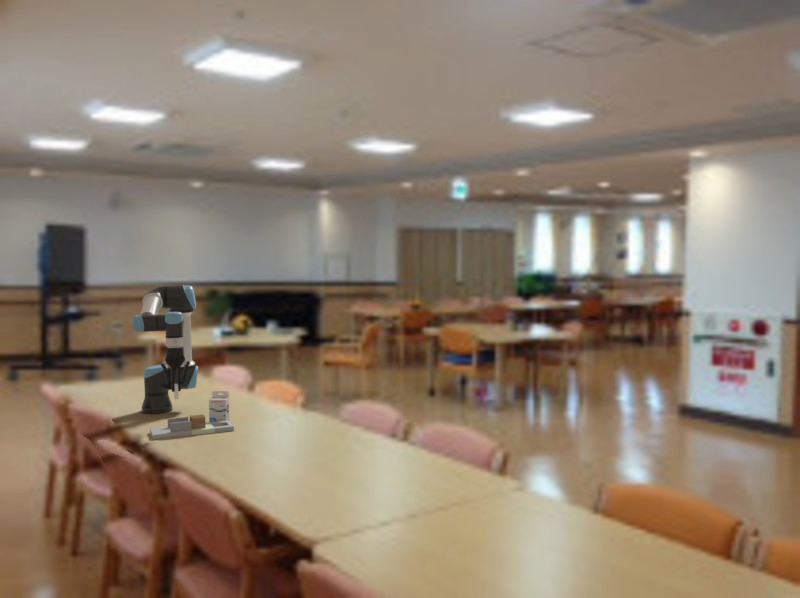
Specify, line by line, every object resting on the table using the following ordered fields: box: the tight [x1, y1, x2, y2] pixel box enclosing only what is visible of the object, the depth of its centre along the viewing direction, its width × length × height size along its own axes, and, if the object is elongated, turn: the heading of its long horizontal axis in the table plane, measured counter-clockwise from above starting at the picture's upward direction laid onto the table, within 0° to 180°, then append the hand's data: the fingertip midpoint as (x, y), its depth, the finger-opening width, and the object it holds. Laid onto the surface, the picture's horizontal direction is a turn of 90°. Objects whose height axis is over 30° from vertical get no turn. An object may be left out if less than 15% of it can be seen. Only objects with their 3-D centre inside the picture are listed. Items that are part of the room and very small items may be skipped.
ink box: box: [208, 390, 230, 422], centre depth 344 cm, size 9×5×15 cm, turn 84°
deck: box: [149, 416, 235, 440], centre depth 327 cm, size 13×35×6 cm, turn 115°
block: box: [189, 413, 206, 429], centre depth 328 cm, size 6×6×5 cm
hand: (176, 398), depth 324 cm, fingers closed
